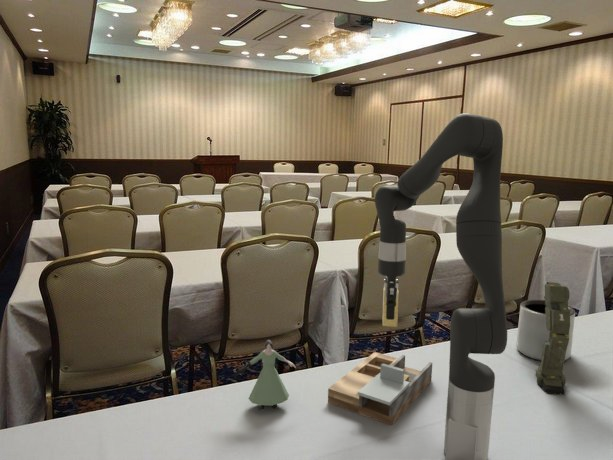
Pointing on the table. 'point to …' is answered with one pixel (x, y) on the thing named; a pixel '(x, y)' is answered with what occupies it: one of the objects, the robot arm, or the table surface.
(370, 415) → the board
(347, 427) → the table surface
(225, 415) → the table surface
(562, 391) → the mechanical leg
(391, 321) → the pin
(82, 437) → the table surface
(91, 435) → the table surface
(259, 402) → the character figurine
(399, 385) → the lid
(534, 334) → the planter
